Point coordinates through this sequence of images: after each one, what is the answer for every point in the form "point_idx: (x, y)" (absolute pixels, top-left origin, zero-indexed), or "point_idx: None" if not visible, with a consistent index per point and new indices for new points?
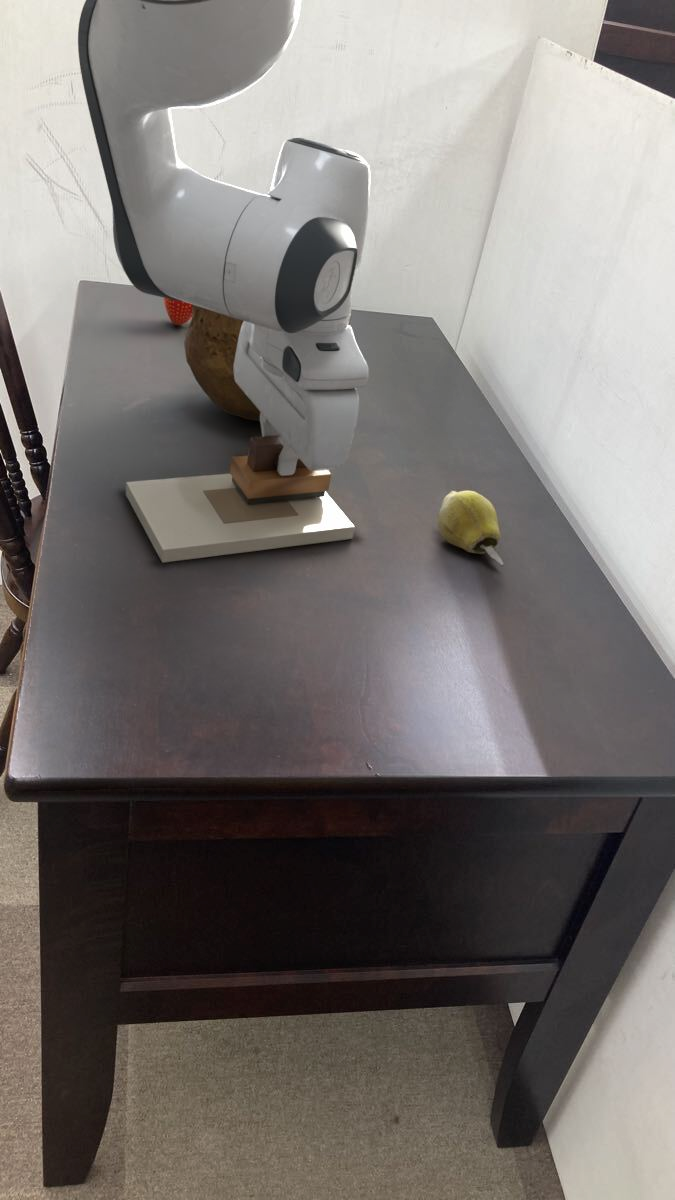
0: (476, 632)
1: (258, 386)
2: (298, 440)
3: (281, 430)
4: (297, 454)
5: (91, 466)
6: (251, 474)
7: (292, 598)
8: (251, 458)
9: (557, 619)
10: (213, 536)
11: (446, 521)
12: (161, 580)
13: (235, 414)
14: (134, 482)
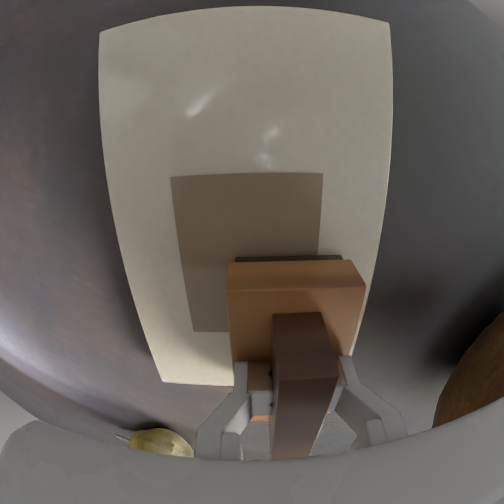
0: (35, 372)
1: (431, 495)
2: (71, 477)
3: (193, 480)
4: (79, 442)
5: (465, 33)
6: (262, 305)
7: (30, 236)
8: (300, 332)
9: (71, 419)
10: (125, 140)
11: (151, 446)
12: (73, 39)
13: (495, 319)
14: (386, 37)
